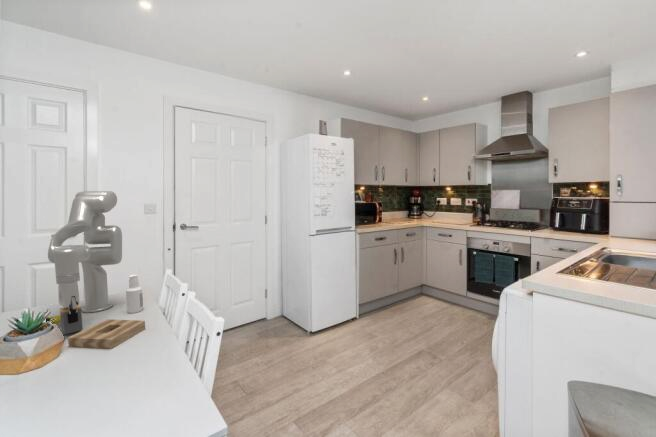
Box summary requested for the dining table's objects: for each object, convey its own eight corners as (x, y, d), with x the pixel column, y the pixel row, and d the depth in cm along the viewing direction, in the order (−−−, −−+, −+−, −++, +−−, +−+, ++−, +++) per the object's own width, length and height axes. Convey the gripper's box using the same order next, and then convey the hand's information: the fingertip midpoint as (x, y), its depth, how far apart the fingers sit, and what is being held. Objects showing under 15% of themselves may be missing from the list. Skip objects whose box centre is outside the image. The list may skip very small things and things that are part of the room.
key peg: (61, 332, 130) (59, 308, 129) (79, 327, 135) (77, 304, 134) (64, 334, 128) (62, 310, 127) (82, 329, 132) (80, 306, 132)
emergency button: (23, 318, 137) (67, 311, 146) (24, 328, 138) (68, 320, 147) (19, 325, 130) (66, 317, 139) (20, 335, 130) (67, 326, 139)
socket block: (68, 346, 119) (67, 337, 119) (107, 327, 137) (107, 319, 137) (111, 348, 117) (110, 339, 117) (145, 328, 135) (144, 320, 134)
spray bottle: (146, 309, 158) (144, 274, 157) (134, 314, 152) (132, 277, 151) (136, 307, 161) (134, 273, 159) (123, 312, 154) (121, 276, 153)
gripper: (50, 277, 131) (54, 319, 133) (62, 283, 121) (66, 329, 123) (73, 273, 137) (76, 313, 139) (85, 279, 127) (89, 323, 129)
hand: (71, 320), depth 131 cm, fingers closed on key peg, 4 cm apart
